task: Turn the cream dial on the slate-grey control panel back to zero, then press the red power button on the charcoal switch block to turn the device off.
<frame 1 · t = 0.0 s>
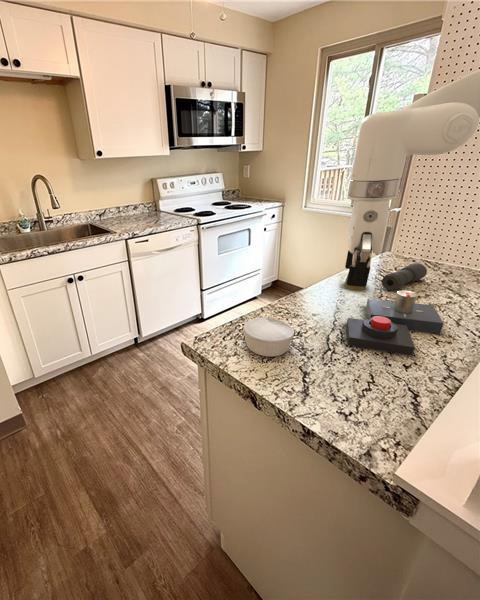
hand: (354, 276, 64), 18 cm above the countertop, tool pointing down, fingers open, 9 cm apart
control panel: (399, 319, 81), on the countertop
power button: (380, 322, 72), point 4 cm above the countertop, slide at 0.1 cm
ramekin: (266, 347, 76), on the countertop
dial: (404, 301, 78), point 5 cm above the countertop, hinge at 90.0°
flashlight: (401, 284, 99), on the countertop
switch block: (376, 339, 74), on the countertop
cork: (354, 287, 101), on the countertop
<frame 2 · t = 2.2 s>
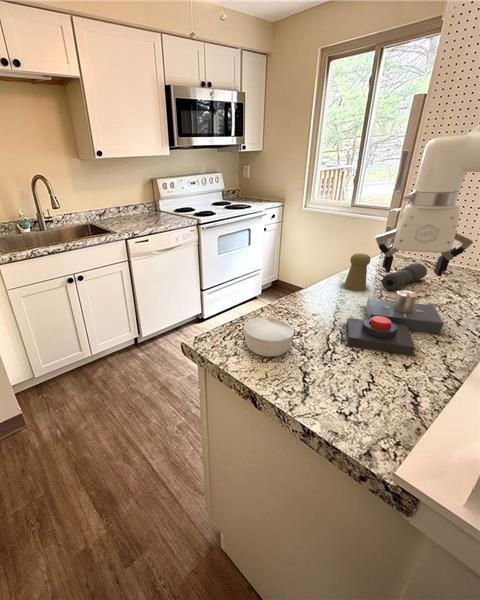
hand: (411, 272, 75), 13 cm above the countertop, tool pointing down, fingers open, 9 cm apart
nothing on the countertop moved.
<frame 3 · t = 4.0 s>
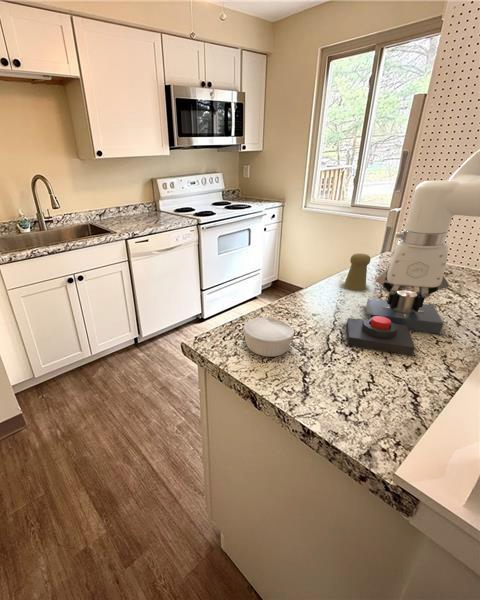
hand: (403, 307, 79), 4 cm above the countertop, tool pointing down, fingers closed on dial, 4 cm apart
dial: (404, 301, 78), point 5 cm above the countertop, hinge at 89.9°, touching gripper
everything else where it was.
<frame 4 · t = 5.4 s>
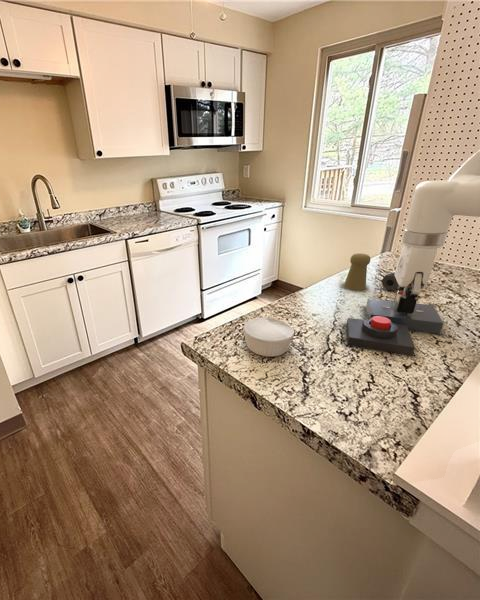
hand: (403, 307, 79), 4 cm above the countertop, tool pointing down, fingers closed on dial, 4 cm apart
dial: (404, 301, 78), point 5 cm above the countertop, hinge at -0.6°, touching gripper
everything else where it was.
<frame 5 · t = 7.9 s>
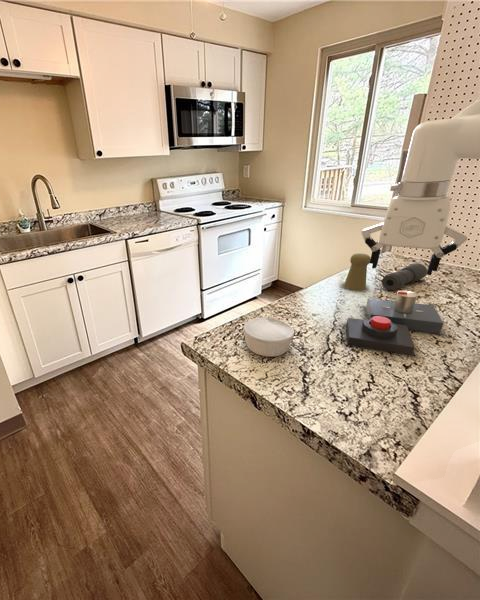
hand: (400, 269, 69), 16 cm above the countertop, tool pointing down, fingers open, 9 cm apart
dial: (404, 301, 78), point 5 cm above the countertop, hinge at 0.5°
everything else where it was.
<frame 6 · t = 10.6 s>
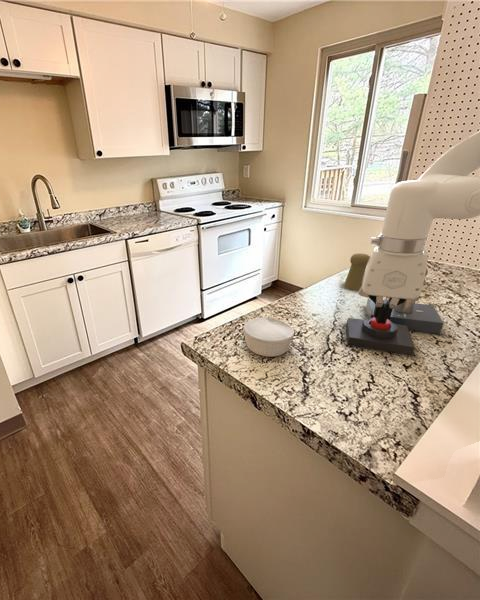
hand: (380, 320, 72), 5 cm above the countertop, tool pointing down, fingers closed
power button: (380, 323, 72), point 4 cm above the countertop, slide at -0.2 cm, touching gripper
everything else where it was.
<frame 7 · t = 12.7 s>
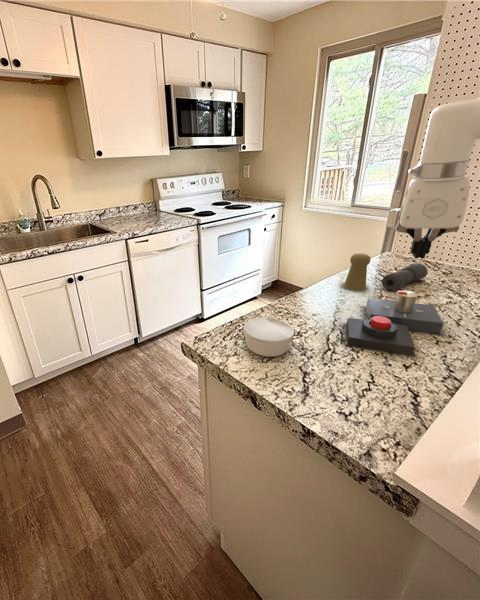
hand: (418, 256, 71), 18 cm above the countertop, tool pointing down, fingers closed
power button: (380, 322, 72), point 4 cm above the countertop, slide at 0.1 cm
everything else where it was.
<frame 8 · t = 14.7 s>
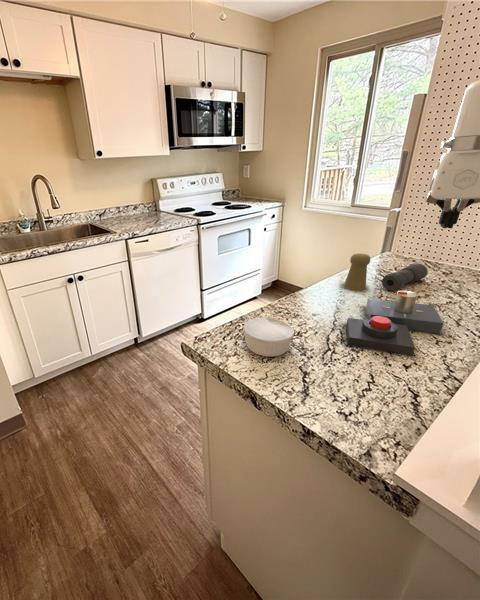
hand: (446, 226, 76), 22 cm above the countertop, tool pointing down, fingers closed
nothing on the countertop moved.
at the end: dial at +0° (first picture: +90°); power button pushed in 1.1 cm at the most during the clip, back to where it started at the end; power button slide at 0.1 cm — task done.
